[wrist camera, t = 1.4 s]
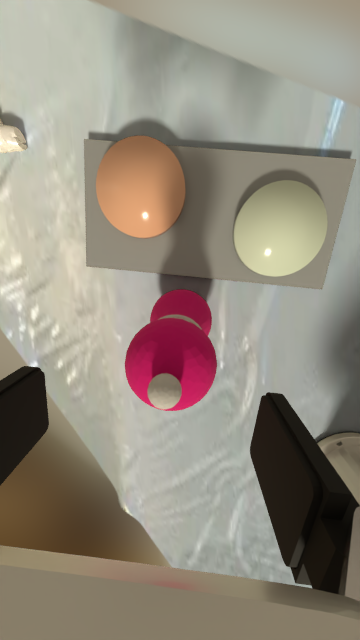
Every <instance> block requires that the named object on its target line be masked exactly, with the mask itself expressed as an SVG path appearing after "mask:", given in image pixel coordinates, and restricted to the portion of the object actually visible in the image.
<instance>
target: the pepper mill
mask: <svg viewBox="0 0 360 640" xmlns="http://www.w3.org/2000/svg"><path fill="white" fill-rule="evenodd" d="M211 322H212V317H211V311H210V308H209V306H208V304H207V303H206V301H205V300H204V299H203V298H202V297H201V296H199V295H198V294H196V293H195V292H192V291H189V290H184V289H178V290H173V291H170V292H168V293H166V294H164V295H163V296H161V297H160V298H159V299H158V301H157V302H156V303H155V305H154V307H153V310H152V313H151V318H150V323H149V324H148V325H146V326H145V327H143V328H142V329H141V330H140V331H139V332H138V333H137V334H136V335H135V337H134V338H133V340H132V341H131V343H130V345H129V348H128V350H127V354H126V360H125V370H126V377H127V380H128V383H129V385H130V387H131V389H132V390H133V391H134V393H135V394H136V395H137V396H138V397H139V398H140V399H141V400H142V401H143V402H145V403H147V404H148V405H150V406H152V407H154V408H157V409H161V410H165V411H176V410H182V409H185V408H188V407H190V406H193V405H194V404H195V403H197V402H198V401H200V400H201V399H202V398H203V397H204V396H205V395H206V394H207V392H208V391H209V389H210V387H211V385H212V383H213V381H214V378H215V374H216V368H217V360H216V354H215V350H214V347H213V345H212V343H211V341H210V339H209V338H208V334H209V332H210V329H211Z"/></svg>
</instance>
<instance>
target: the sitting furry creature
mask: <svg viewBox="0 0 360 640" xmlns="http://www.w3.org/2000/svg"><path fill="white" fill-rule="evenodd" d="M1 121H2V120H1V119H0V152H1V153H7V152H14V151H24V150H26V149H27V145H25V143H26V140H25V138H24V136H23V134H22V133H21V131H20V130H19V129H18V128H16V127H13V126H6V125H4V124H3V123H2V122H1Z"/></svg>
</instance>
